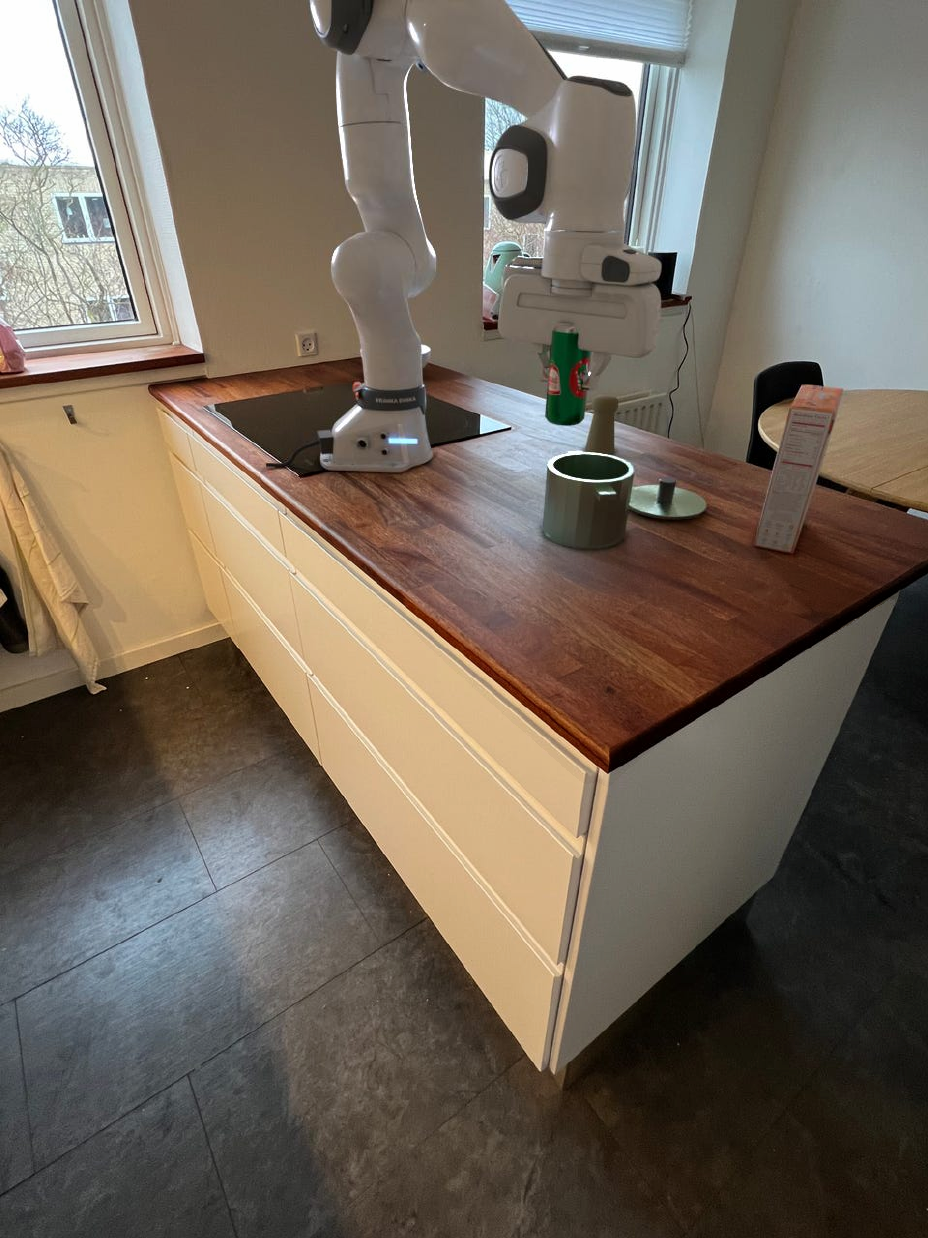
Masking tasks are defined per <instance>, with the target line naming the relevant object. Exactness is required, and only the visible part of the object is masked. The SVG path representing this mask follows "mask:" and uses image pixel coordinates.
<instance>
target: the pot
mask: <svg viewBox="0 0 928 1238" xmlns="http://www.w3.org/2000/svg"><path fill="white" fill-rule="evenodd" d="M634 478H635V467H634V465H633V464H632V463H630V461H627V460H625V459H623V458H621V457H618V456H615V455H611V454H600V453H589V452H587V451H585V452H583V450H573V451H570V450H569V451H567V452H566V453H563V454H559V455H557V456H554V457H553V458H551V459H550V460H549V461H548V462H547V467H546V477H545V479H546V480H545V490H544V491H545V493H544V503H543V518H542V532H543V534H544V535H545V537H546V538H548V539H549V540H550V541H551V542H553V543H556V544H558V545H560V546H563V547H568V548H571V549H578V550H602V549H603V550H604V549H607V548H611V547H614V546H617V545H618V544H620V543H621V542H622V541H623V540H624V538H625V534H626V529H627V523H628V516H629V511H630V509H629V504H630V498H631V492H632V488H633V485H634Z"/></svg>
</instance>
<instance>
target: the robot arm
mask: <svg viewBox="0 0 928 1238" xmlns="http://www.w3.org/2000/svg"><path fill="white" fill-rule="evenodd" d="M309 9H310V15H311V20H312V23H313V26H314V29H315V32H316V33H317V35H318V36H319V39H320V41H321V42H322V43H323V45H324V46H325V47H327V48H328V49H330V50H333V51H335V52H337V53H336V63H335V64H336V68H335V90H336V91H335V99H336V114H337V125H338V133H339V141H340V150H341V160H342V167H343V175H344V184H345V188H346V191H347V193H348V194H349V196H350V197H351V199H352V200H353V201H354V203H355V205H356V207H357V210H358V212H359V215H360V218H361V220H362V224H363V228H364V231H363V232H359V233H356V234H355V235H353V236H350V237H349V238H347V239H346V240H344V241H343V242H341V243H340V244H339V245H338V246H337V247H336V249H335V250H334V253H333V255H332V258H331V263H330V273H331V279H332V282H333V286H334V288H335V289H336V291H337V292H338V294H339V295H340V297H341V298H342V299H344V301H345V303H347V305H348V308H349V310H350V312H351V315H352V317H353V321H354V323H355V327H356V330H357V333H358V338H359V343H360V350H361V351H362V356H361V362H362V373H363V381H364V382H363V383H362V382H360V381H355V382H354V383H353V384H352V392H353V394H354V402H355V403H354V404H355V405H354V406H353V407H352V408H350V409H349V410H348V411H346V413H344V414H343V415H342V416H341V417H340V418H339V419H337V421H336V422H335V423H334V424H333V426H332V427H331V429H324V430H317V440H314V441H311V442H308V443H306V444H303V445H301V446H299V447H298V448H296V449H295V450H293V452H292V453H291V455H290V458H289V459H288V460H287V461H284V462H279V463H277V462H265V467H266V468H283V467H287V466H289V465H291V464H292V463H293V462H294V461H295V459H296V457H297V455H298V454H299V453H300V452H302V451H303V450H306V449H309V448H311V447H314V446H318V448H319V450H320V455H319V463H320V465H321V467H322V468H324V469H325V470H327V471H341V472H342V471H343V472H344V471H346V472H370V473H371V472H373V473H374V472H376V473H403V472H406V471H408V470H409V469H411V468H413V467H416V466H421V465H423V464H426V463H427V462H429V461H430V460H432V459H433V458H434V453H433V450H432V447H431V444H430V438H429V434H428V429H427V428H428V427H427V423H426V412H427V411H426V410H427V390H426V385H425V382H424V381H423V379H424V378H423V369H422V348H421V344H422V339H421V337H420V335H419V334H418V332H417V331H416V330H415V327H414V324H413V320H412V316H411V313H410V310H409V309H410V308H409V304H408V303H409V302H408V299H412V298H415V297H417V296H419V295H420V294H421V293H422V292H423V291H425V290H426V289H427V288H428V287H429V286H430V285H431V283H432V282H433V281H434V278H435V276H436V273H437V266H438V265H437V264H438V263H437V256H436V253H435V250H434V248H433V245H432V244H431V242H430V241H429V240H428V237H427V234H426V231H425V227H424V223H423V219H422V215H421V211H420V207H419V202H418V199H417V193H416V187H415V181H414V171H413V160H412V159H413V158H412V148H411V147H412V146H411V133H410V131H411V130H410V120H409V110H408V101H407V90H406V89H407V88H406V87H407V78H408V74H409V72H410V70H411V68H412V67H413V66H414V65H415V66H416V68H417V69H418V70H419V72H421V73H422V74H425V73H427V72H428V71H430V72H431V74H432V75H433V76H434V77H436V79H437V80H439V82H441V83H442V84H443V85H445V86H446V87H449V88H451V89H454V90H457V91H459V92H463V93H467V94H470V95H474V96H477V97H482V98H485V99H490V100H493V101H495V102H498V103H500V104H503V105H504V106H507V107H509V108H511V109H513V110H514V111H516V112H518V113H519V114H521V115H522V116H523V117H524V119H526V120H523V121H522V122H521V123H520V122H519V124H513V125H510V126H509V127H508V128H507V129H506V130H505V131H504V132H503V133H502V134H501V135H500V137H499V138H498V140H497V141H496V143H495V145H494V148H493V151H492V153H491V156H490V160H489V161H490V162H489V169H488V185H489V192H490V197H491V200H492V202H493V204H494V206H495V208H496V210H497V211H498V212H499V214H500V215H501V216H502V217H503V218H504V219H506V220H508V221H512V222H514V223H518V224H541V225H544V233H543V246H542V257H537V256H534V257H526V256H524V255H523V256H522V255H518V256H515V257H514V258H513V259H512V260H510V261H509V262H508V263H507V264H506V265H505V266H504V268H503V273H502V293H501V298H500V304H499V312H498V320H497V330H498V332H499V334H500V337H501V338H502V339H504V340H510V341H515V342H524V343H530V344H532V354H533V357H534V359H535V361H536V364H537V367H538V368H539V371H538V372H539V373H538V381H539V382H540V383H545V384H546V383H547V384H548V371H549V355H548V352H550V345H551V341H552V331H553V330H554V328H555V327H556V326H557V325H558V324H557V322H562V323H573V324H576V326H575V328H576V330H577V332H578V333H579V339H578V347H579V349H580V350H585V351H591V353H593V355H592V362H595V365H594V367H593V368H592V370H590V371H589V373H588V374H585V375H583V379H582V381H583V383H582V389H585V390H587V391H589V392H590V391H591V392H595V391H596V390H598V388H599V384H600V378H601V374H602V373H603V372H604V370H605V369H606V368H607V367H608V365H609V364H610V362H611V361H612V355H613V356H620V357H626V358H633V359H641V358H643V357H646V356H649V355H650V354H651V353H652V352H653V351H654V350H655V348H656V347H657V345H658V342H659V341H658V340H659V335H660V326H661V317H662V316H661V315H662V297H661V292H660V290H659V288H658V287H657V285H655V284H654V283H653V282H656V281H658V280H659V278H660V276H661V273H662V262H661V261H660V260H659V259H658V258H656V257H654V256H652V255H650V254H648V253H645V252H643V251H641V250H638V249H637V248H634V247H632V246H630V245H628V244H627V243H624V235H625V219H624V217H625V216H624V207H625V201H626V199H627V197H628V195H629V192H630V189H631V185H632V180H633V172H634V171H633V166H634V158H635V150H636V149H635V148H636V134H637V107H636V100H635V95H634V92H633V90H632V89H631V88H630V87H629V86H628V84H626V83H624V82H622V81H617V80H613V79H607V78H605V79H604V78H598V77H593V76H585V75H572V76H570V77H568V76H567V74H566V73H565V72H564V70H563V69H562V68H561V67H560V65H559V64H558V62H557V61H556V59H554V57H553V56H552V55H551V53H550V52H549V51H548V49H547V48H546V47H545V46H544V45H543V44H542V43H541V42H540V41H539V39H538V38H537V36H535V34H533V32H531V31H530V29H529V28H528V26H526V25H525V23H524V22H523V21H522V20H521V19H520V17H519V16H518V15H517V14H516V13H515V12H514V10H513V9H512V8H511V7H510V5H509V4H508V2H507V1H506V0H309Z"/></svg>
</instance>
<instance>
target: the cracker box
mask: <svg viewBox="0 0 928 1238" xmlns="http://www.w3.org/2000/svg"><path fill="white" fill-rule="evenodd" d="M843 392H844V388H839V387H832V386H831V387H830V386H823V385H817V384H801V386H800V388H799V390H798V392H797V393H796V395H795V398H794V399H793V401H792V403H791V405H790V406H789V408H788V412H787V417H786V419H785V424H784V427H783V431H782V435H781V438H780V442H779V446H778V449H777V453H776V456H775V461H774V464H773V468H772V472H771V475H770V479H769V483H768V487H767V490H766V495H765V499H764V502H763V507H762V511H761V514H760V518H759V521H758V526H757V529H756V532H755V537H754V541H753V544H752V545H753V546H754V547H756V548H762V549H767V550H771V551H772V550H773V551H776V552H781V553H784V554H785V553H786V554H791V555H793V554H794V552H795V549H796V546H797V543H798V540H799V537H800V534H801V531H802V528H803V526H804V523H805V520H806V516H807V513H808V510H809V506H810V505H811V504H810V503H811V500H812V497H813V494H814V491H815V488H816V484H817V482H818V478H819V475H820V472H821V468H822V465H823V462H824V458H825V457H826V456H825V455H826V452H827V449H828V445H829V442H830V439H831V436H832V433H833V429H834V426H835V422H836V419H837V416H838V412H839V408H840V404H841V401H842V396H843Z"/></svg>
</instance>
